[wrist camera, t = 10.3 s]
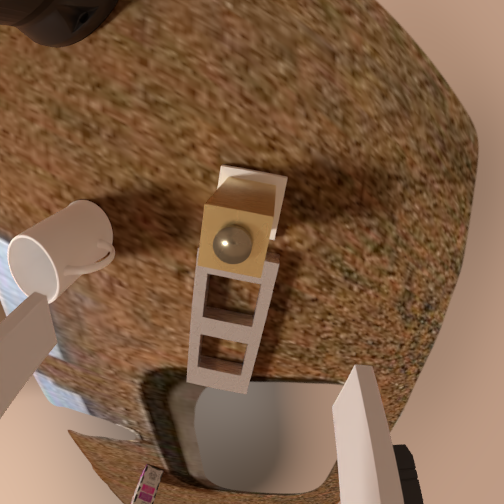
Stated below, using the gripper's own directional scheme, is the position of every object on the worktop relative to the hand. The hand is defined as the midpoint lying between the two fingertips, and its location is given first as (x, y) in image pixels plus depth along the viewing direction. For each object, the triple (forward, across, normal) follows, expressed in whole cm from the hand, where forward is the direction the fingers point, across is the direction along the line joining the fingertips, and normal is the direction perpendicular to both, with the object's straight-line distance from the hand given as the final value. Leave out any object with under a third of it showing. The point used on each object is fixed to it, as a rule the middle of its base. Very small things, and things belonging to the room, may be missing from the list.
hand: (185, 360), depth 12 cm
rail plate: (+24, 0, -17) cm, 30 cm away
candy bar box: (+25, -14, -76) cm, 81 cm away
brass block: (+24, 0, 0) cm, 24 cm away
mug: (+25, -19, -8) cm, 32 cm away
